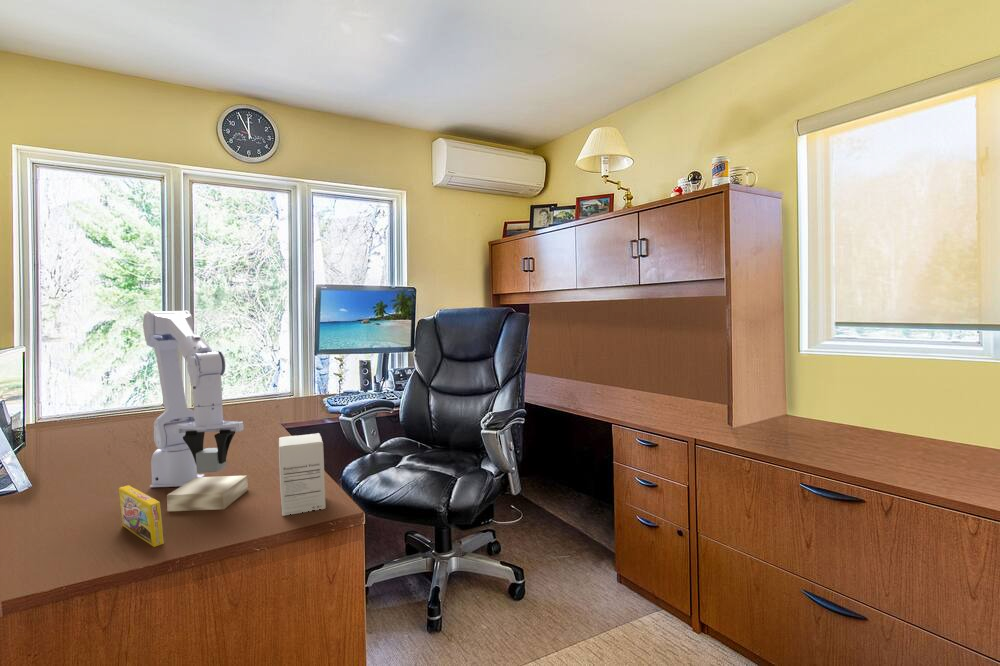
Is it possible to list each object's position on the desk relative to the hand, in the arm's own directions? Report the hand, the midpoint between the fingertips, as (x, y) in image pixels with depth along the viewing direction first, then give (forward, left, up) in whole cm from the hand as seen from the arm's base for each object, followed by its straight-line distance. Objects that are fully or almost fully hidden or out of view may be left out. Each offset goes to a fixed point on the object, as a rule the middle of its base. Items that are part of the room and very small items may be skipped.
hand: (210, 462), depth 119 cm
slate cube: (0, 0, -2) cm, 2 cm away
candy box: (-4, -19, -9) cm, 21 cm away
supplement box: (+23, -7, -9) cm, 25 cm away
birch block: (0, -1, -9) cm, 9 cm away
